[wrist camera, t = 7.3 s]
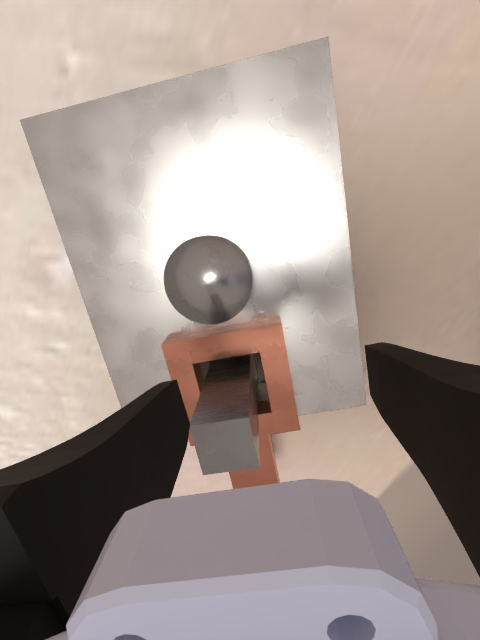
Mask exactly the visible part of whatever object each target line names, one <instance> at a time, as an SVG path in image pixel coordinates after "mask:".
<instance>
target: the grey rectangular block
mask: <svg viewBox="0 0 480 640" xmlns="http://www.w3.org/2000/svg"><path fill="white" fill-rule="evenodd" d="M190 431H191V434H192V438H193V441H194V445H195V448H196V452H197V455H198V459H199V462H200V466H201V469H202V472H203V475H207V474H214V473H222V472H230V471H237V470H245V469H252V468H260V455H259V411H258V374H257V369H256V364H255V360H254V355H253V353H252V354H247V355H241V356H235V357H229V358H223V359H218V360H212V361H211V363H210V366H209V369H208V372H207V375H206V378H205V381H204V384H203V387H202V390H201V393H200V396H199V399H198V401H197V404H196V407H195V410H194V413H193V416H192V419H191V422H190Z"/></svg>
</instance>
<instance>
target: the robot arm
mask: <svg viewBox="0 0 480 640" xmlns="http://www.w3.org/2000/svg"><path fill="white" fill-rule="evenodd" d="M365 353H366V361H367V370H368V379H369V387H370V395H371V397H372V399H373V401H374V403H375V405H376V407H377V409H378V411H379V413H380V414H381V416H382V418H383V419H384V421H385V422H386V424H387V425H388V426H389V428H390V429H391V431H392V432H393V434H394V435H395V436H396V438H397V439H398V440H399V442H400V443H401V445H402V446H403V447H404V449H405V450H406V452H407V453H408V454H409V456H410V457H411V458H412V460H413V461H414V463H415V464H416V465H417V467H418V468H419V470H420V471H421V473H422V474H423V476H424V477H425V479H426V480H427V482H428V484H429V485H430V487H431V489H432V491H433V492H434V494H435V496H436V497H437V499H438V501H439V503H440V504H441V506H442V508H443V510H444V512H445V513H446V515H447V517H448V519H449V520H450V522H451V524H452V526H453V528H454V530H455V531H456V533H457V535H458V537H459V539H460V540H461V542H462V544H463V546H464V548H465V550H466V552H467V554H468V556H469V558H470V559H471V561H472V563H473V565H474V567H475V569H476V571H477V573H478V575H479V576H480V366H478V365H472V364H467V363H462V362H458V361H453V360H449V359H445V358H441V357H437V356H433V355H429V354H425V353H422V352H418V351H415V350H411V349H408V348H404V347H401V346H397V345H393V344H389V343H383V342H381V343H376V344H370V345H365ZM189 430H190V421H189V418H188V415H187V412H186V408H185V405H184V402H183V398H182V395H181V392H180V389H179V385H178V382H177V379H176V380H171V381H165V382H161V383H159V384H157V385H155V386H154V387H152V388H150V389H149V390H147V391H146V392H144V393H143V394H142V395H140V396H139V397H137V398H136V399H134V400H133V401H132V402H130V403H129V404H127V405H126V406H124V407H123V408H121V409H120V410H118V411H117V412H115V413H114V414H112V415H111V416H109V417H108V418H106V419H105V420H103V421H102V422H100V423H98V424H97V425H95V426H93V427H92V428H90V429H88V430H86V431H85V432H83V433H81V434H79V435H77V436H75V437H74V438H72V439H70V440H68V441H66V442H64V443H61V444H59V445H57V446H55V447H53V448H51V449H49V450H47V451H44V452H42V453H40V454H38V455H36V456H33V457H31V458H29V459H26V460H24V461H21V462H19V463H16V464H14V465H11V466H9V467H6V468H3V469H1V470H0V640H480V586H477V585H470V584H463V583H456V582H450V581H444V580H437V579H430V578H424V577H417V576H414V574H413V571H412V569H411V567H410V565H409V563H408V561H407V559H406V556H405V554H404V552H403V550H402V547H401V546H400V543H399V541H398V539H397V537H396V535H395V532H394V530H393V528H392V526H391V524H390V522H389V520H388V518H387V516H386V514H385V512H384V510H383V508H382V506H381V504H380V502H379V500H378V499H377V498H375V497H373V496H371V495H370V494H368V493H366V492H365V491H363V490H361V489H359V488H358V487H356V486H354V485H353V484H351V483H349V482H344V481H331V480H317V479H304V480H297V481H290V482H283V483H275V484H268V485H261V486H253V487H246V488H239V489H231V490H224V491H217V492H209V493H202V494H195V495H187V496H180V497H173V498H170V497H171V494H172V491H173V488H174V485H175V482H176V479H177V476H178V473H179V470H180V467H181V464H182V460H183V457H184V454H185V451H186V447H187V442H188V437H189Z"/></svg>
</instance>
